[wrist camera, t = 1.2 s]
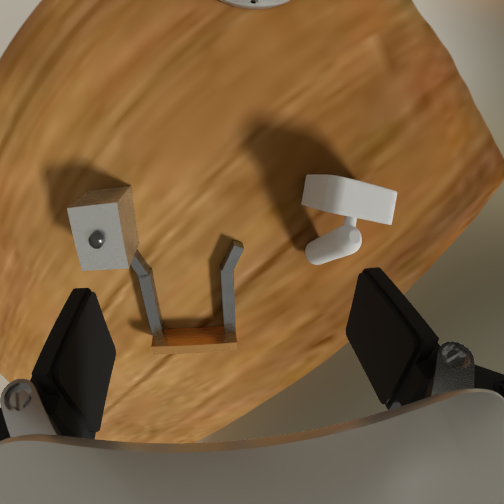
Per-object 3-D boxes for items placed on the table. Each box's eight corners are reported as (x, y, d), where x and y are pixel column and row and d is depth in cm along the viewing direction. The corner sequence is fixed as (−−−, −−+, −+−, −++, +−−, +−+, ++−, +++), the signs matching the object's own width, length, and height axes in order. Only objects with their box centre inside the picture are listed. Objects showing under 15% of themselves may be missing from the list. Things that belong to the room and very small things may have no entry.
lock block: (87, 190, 30) (64, 210, 24) (131, 185, 31) (115, 204, 25) (98, 245, 33) (80, 273, 28) (139, 242, 34) (127, 271, 28)
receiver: (126, 246, 34) (119, 260, 31) (242, 239, 36) (246, 252, 33) (147, 337, 41) (144, 354, 38) (243, 332, 42) (246, 349, 39)
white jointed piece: (282, 258, 37) (312, 286, 27) (297, 174, 35) (334, 174, 25) (339, 265, 39) (381, 291, 29) (355, 187, 36) (402, 193, 27)
